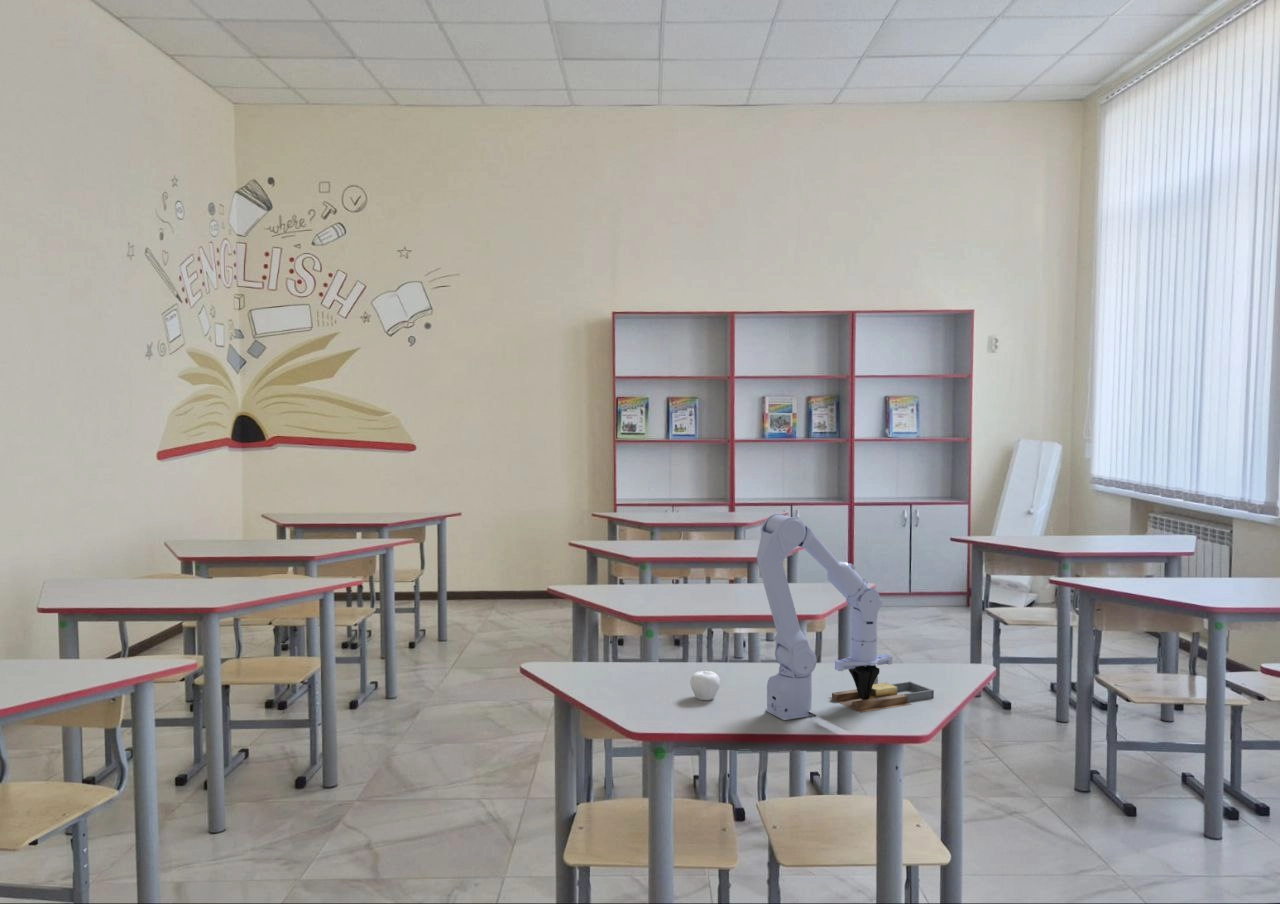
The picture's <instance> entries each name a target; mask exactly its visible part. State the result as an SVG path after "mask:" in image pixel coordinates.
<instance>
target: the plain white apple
mask: <svg viewBox="0 0 1280 904" xmlns="http://www.w3.org/2000/svg"><path fill="white" fill-rule="evenodd" d="M720 687H721V679H720V677H719V675H718V674H717V673H716V672H714V671H712V670H707V665H706V664H705V665H704V668H703V670H701V671H699V670H698V671H695V672H694V673H693V674H692V675H691V677H690V688H691V690H692V692H693V695H694V697H695V698H696V699H697V700H699V699H700V701H702V700H707V701H710V700H713V699H714V698H715V697H716V695H717V693H718V691H719V689H720Z"/></svg>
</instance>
